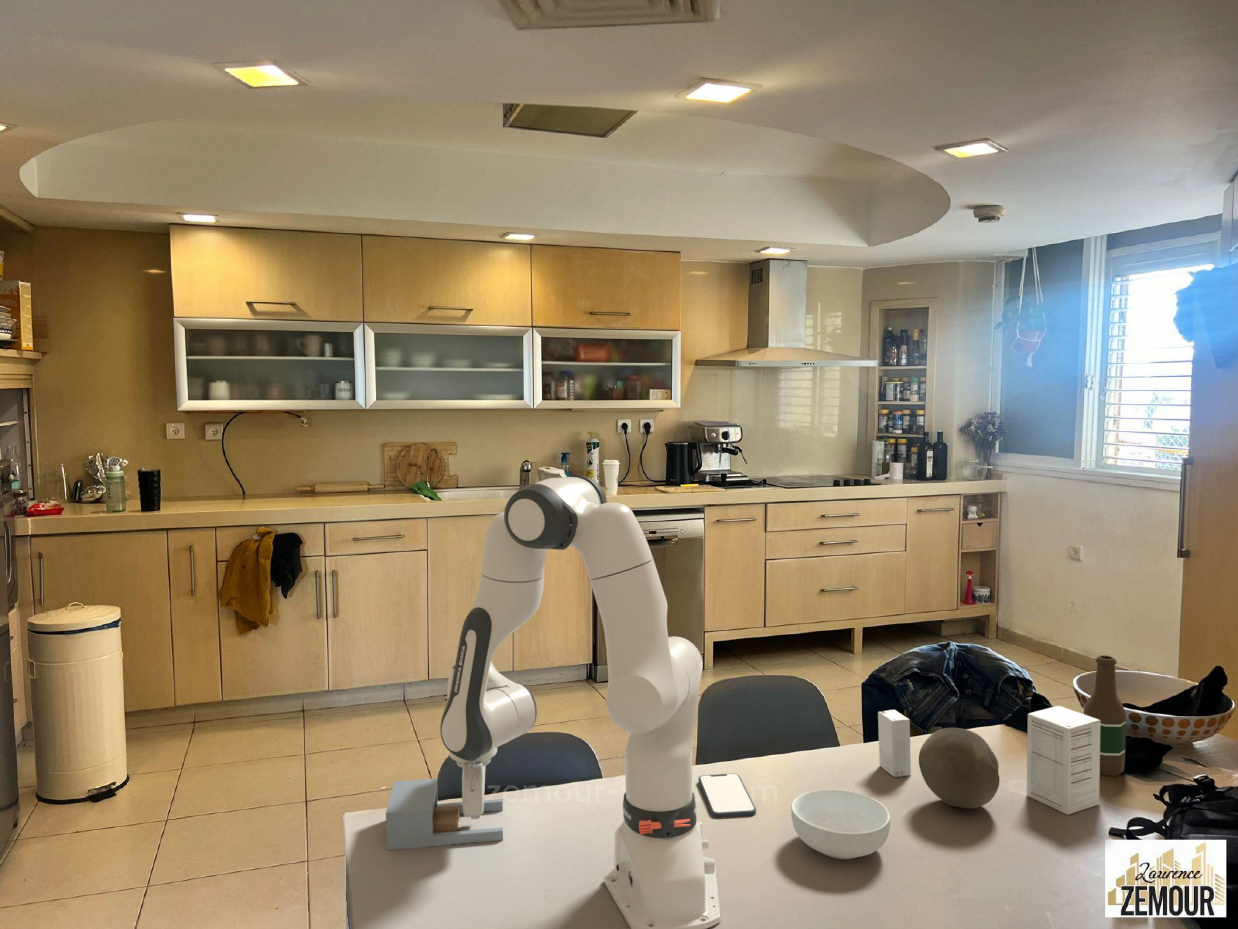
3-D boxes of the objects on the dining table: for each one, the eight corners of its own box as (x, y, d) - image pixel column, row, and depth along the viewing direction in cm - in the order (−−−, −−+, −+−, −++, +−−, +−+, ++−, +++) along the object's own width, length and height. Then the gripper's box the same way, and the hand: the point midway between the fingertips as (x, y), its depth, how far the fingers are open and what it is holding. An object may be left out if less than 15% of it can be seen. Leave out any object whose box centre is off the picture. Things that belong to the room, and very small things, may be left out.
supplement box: (1100, 805, 165) (1103, 720, 164) (1068, 816, 161) (1070, 729, 160) (1056, 785, 174) (1058, 704, 172) (1024, 795, 170) (1026, 712, 169)
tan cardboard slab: (456, 839, 158) (455, 823, 158) (400, 843, 157) (400, 827, 157) (459, 820, 165) (458, 805, 165) (406, 824, 164) (405, 809, 164)
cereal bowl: (908, 849, 151) (909, 810, 151) (854, 886, 140) (854, 844, 140) (827, 814, 164) (827, 778, 163) (771, 846, 153) (771, 808, 152)
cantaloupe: (950, 783, 175) (951, 712, 174) (1014, 811, 164) (1015, 734, 162) (904, 802, 168) (904, 727, 167) (967, 833, 156) (969, 753, 155)
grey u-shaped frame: (503, 840, 157) (501, 803, 156) (387, 850, 154) (385, 813, 153) (502, 807, 169) (501, 773, 168) (395, 816, 166) (394, 781, 166)
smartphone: (758, 819, 164) (738, 780, 180) (758, 811, 164) (738, 772, 180) (712, 822, 163) (696, 782, 179) (712, 814, 163) (696, 775, 179)
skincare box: (911, 775, 179) (912, 719, 178) (892, 778, 178) (892, 721, 177) (896, 763, 185) (896, 708, 184) (877, 765, 184) (877, 710, 183)
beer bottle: (1073, 764, 183) (1076, 653, 181) (1102, 758, 186) (1105, 649, 184) (1103, 779, 176) (1107, 665, 174) (1133, 773, 178) (1137, 660, 176)
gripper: (489, 767, 151) (492, 842, 152) (490, 722, 171) (493, 789, 172) (453, 769, 150) (455, 845, 151) (458, 725, 170) (461, 792, 172)
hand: (475, 815), depth 162 cm, fingers closed
